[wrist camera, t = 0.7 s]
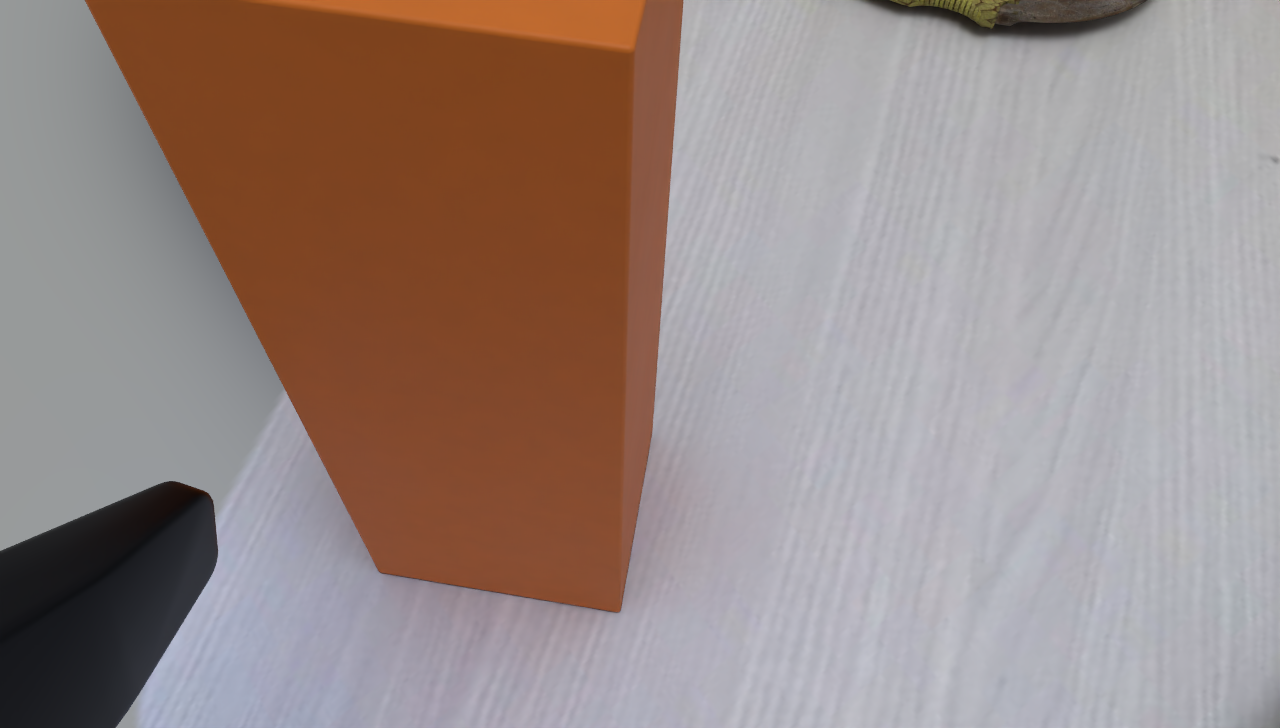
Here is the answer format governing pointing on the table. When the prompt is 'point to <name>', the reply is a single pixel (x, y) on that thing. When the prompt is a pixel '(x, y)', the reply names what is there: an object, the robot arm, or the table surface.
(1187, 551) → the table surface
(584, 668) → the table surface
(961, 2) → the knife
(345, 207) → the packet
